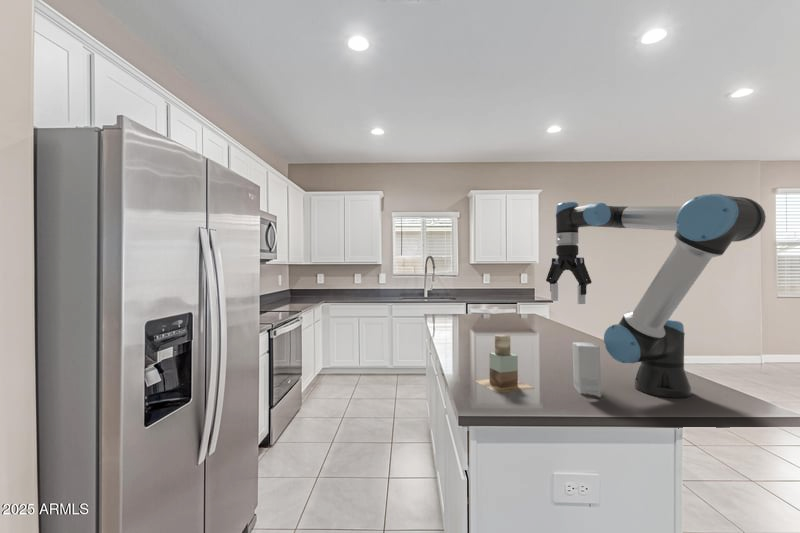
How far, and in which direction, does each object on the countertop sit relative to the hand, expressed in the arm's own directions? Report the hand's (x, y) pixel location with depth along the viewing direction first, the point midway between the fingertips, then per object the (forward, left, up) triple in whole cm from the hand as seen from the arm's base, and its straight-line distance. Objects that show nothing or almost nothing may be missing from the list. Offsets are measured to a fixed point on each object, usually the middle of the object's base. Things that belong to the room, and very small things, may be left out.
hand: (567, 302), depth 145 cm
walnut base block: (-5, +31, -26) cm, 41 cm away
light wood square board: (-5, +31, -27) cm, 41 cm away
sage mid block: (-5, +31, -21) cm, 38 cm away
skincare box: (-19, +10, -27) cm, 34 cm away
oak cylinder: (-5, +31, -16) cm, 35 cm away
